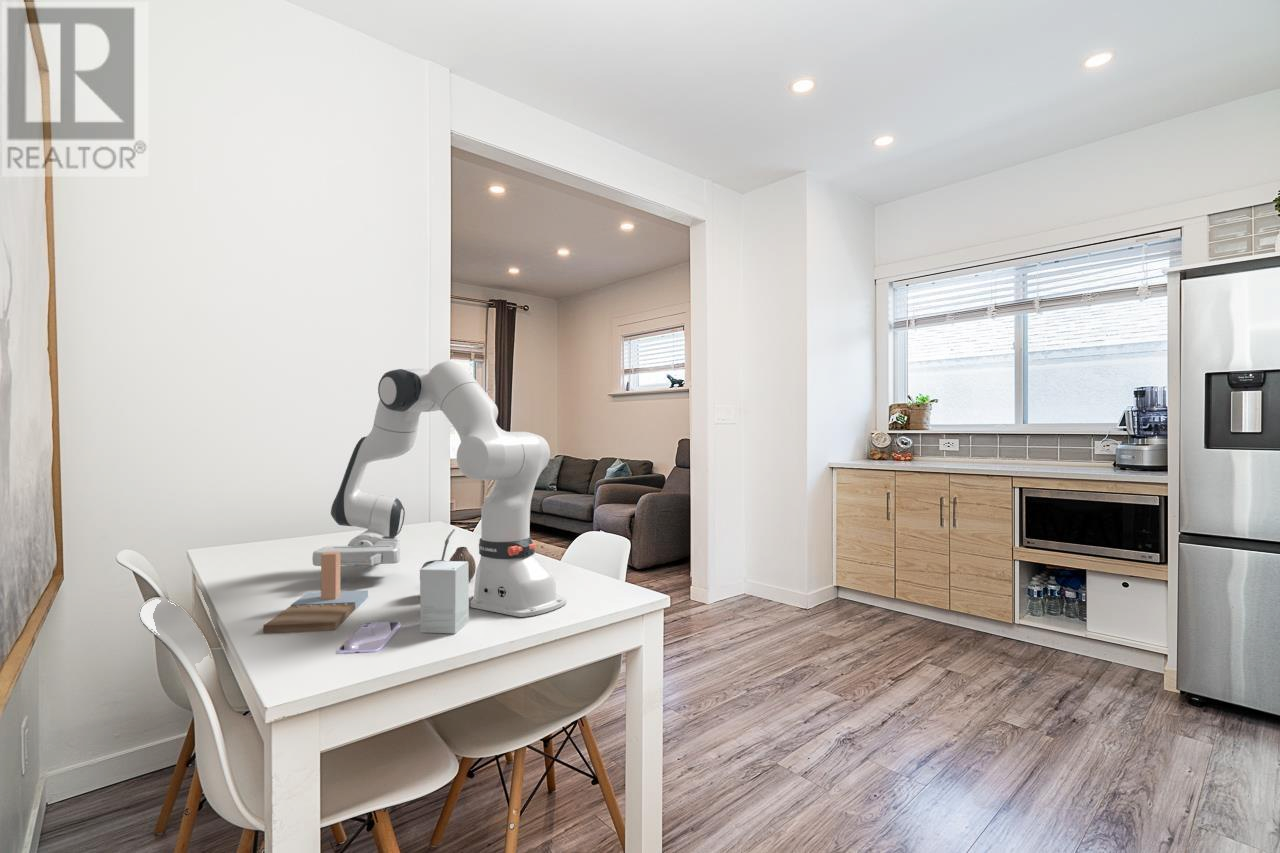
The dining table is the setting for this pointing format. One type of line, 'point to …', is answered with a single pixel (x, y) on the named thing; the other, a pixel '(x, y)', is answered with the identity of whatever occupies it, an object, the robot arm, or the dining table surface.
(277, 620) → the board
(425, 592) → the supplement box
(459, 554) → the vase
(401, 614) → the dining table surface
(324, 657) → the dining table surface
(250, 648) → the dining table surface
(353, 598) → the stub
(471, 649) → the dining table surface
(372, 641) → the mobile phone
